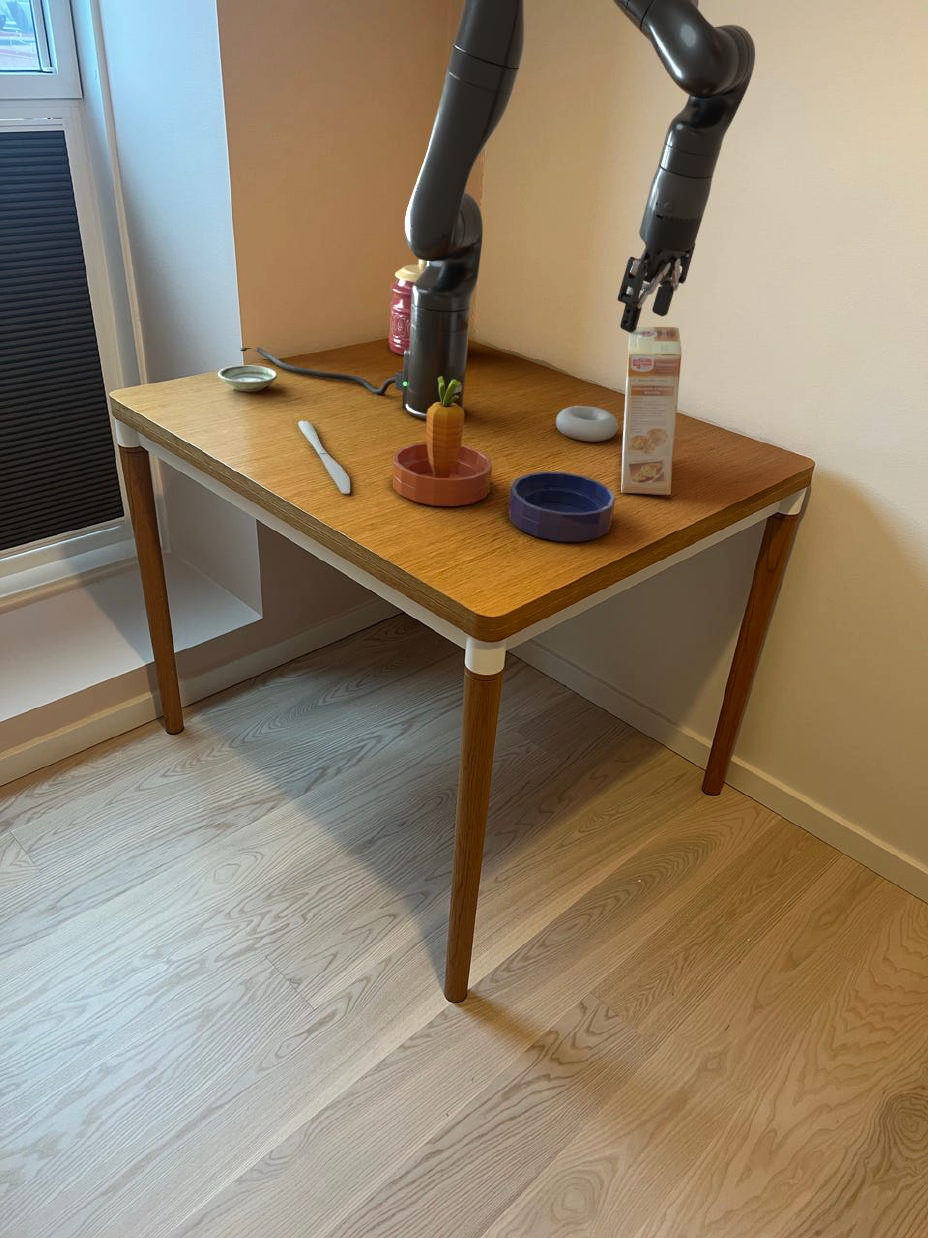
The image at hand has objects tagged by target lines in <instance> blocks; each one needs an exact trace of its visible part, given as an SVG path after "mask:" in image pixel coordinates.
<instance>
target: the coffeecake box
mask: <svg viewBox="0 0 928 1238" xmlns="http://www.w3.org/2000/svg"><path fill="white" fill-rule="evenodd" d="M681 364H682V345H681V336H680V330H679V327H675V326H644V327H643V326H637V328H636V330H635V331H634V332H632V333H629V336H628V349H627V362H626V377H625V392H624V393H625V398H624V412H623V413H624V415H623V429H622V430H623V433H622V453H621V454H622V455H621V460H622V461H621V486H620V492H621V494H644V495H645V494H646V495H663V496H665V495H666V496H667V495H668V496H669V495H671V494H672V493H671V492H672V476H673V475H672V474H673V462H674V452H675V451H674V450H675V438H676V427H677V412H678V403H679V402H678V401H679V389H680V388H679V387H680V377H681V366H682V365H681Z"/></svg>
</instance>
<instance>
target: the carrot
mask: <svg viewBox="0 0 928 1238" xmlns="http://www.w3.org/2000/svg"><path fill="white" fill-rule="evenodd" d="M438 382H439V394H440V399H441V402H437V403H435V404H433V405H432V406H431V407H430V408H429V409H428V411H427V420H426V431H425V432H426V441H425V442H427V450H428V457H429V463H430V466H431V469H432V472H433V475H434V477H435V478H449V476H450V475H451V473H452V471H453V469H454V467H455V465H456V461H457V458H458V455H459V451H460V447H461V445H462V442H463V436H464V435H463V434H464V433H463V432H464V426H465V416H466V415H465V410H464V408H463V409H462V408H461V407H460V406H458V405H457V404H455V403H453V402H454V401H455V400H457V399H458V398H459V396H457V395H454V396H453V397H452V395H453V393H454V391H455V390H456V389H457V388H458V387H459V386H460V385H461V383H460V382H457V381H456V380H452V381H451V383H450V384H449V386H448V388H447V390H446V393H445V384H444V379H443V377H442V376H441V377H439V378H438Z"/></svg>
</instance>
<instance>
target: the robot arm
mask: <svg viewBox="0 0 928 1238" xmlns="http://www.w3.org/2000/svg"><path fill="white" fill-rule="evenodd" d="M612 1H613V3H614V4H615V6H616V7H617V8H618V10H620V11H621V12H622V14H623V15H624V16H625V17H626V18H627V19H628V20H629V21H630V22H631V24H633V26H634V27H636V29H637V30H638V31H639V32H640V33H641V34H642V35H643V36H644V37H645V38H646V39H647V40H649V42H650V43H651V45H652V47H653V49H654V51H655V53H656V55H657V58H659V60H660V62H661V64H662V66H663V67H664V69H665V70H666V72H667V74H668V76H669V77H670V79H671V80H672V82H674V83H675V85H676V86H677V87H678V88H680V90H682V91H683V92H684V93H685V94H687V95H689V96H688V99H687V100H686V104H685V106H684V107H683V108H682V110H681V111H680V112H679V113H678V114H677V115H675V116H674V118H673V119H672V120H671V121H670V123H669V126H668V128H667V132H666V135H665V138H664V142H663V146H662V150H661V154H660V158H659V160H658V161H659V162H658V164H657V168H656V171H655V172H654V176H653V179H652V181H651V184H650V188H649V192H648V195H647V201H646V204H645V208H644V213H643V216H642V219H641V223H640V228H639V230H638V231H639V237H640V239H641V240H642V241H643V243H644V245H645V248H644V250H643V252H642V254H641V256H640V257H639V258H637V257H634V256H630V257H629V258H628V260H627V264H626V266H625V270H624V274H623V277H622V280H621V283H620V284H621V285H620V288H619V291H618V294H617V301H618V302H620V303H623V304H624V305H625V306H624V309H623V313H622V317H621V321H620V325H619V327H620V329H621V330H623V331H625V332H628V333H629V334H630V333H632V332H634V331H635V330H636V328H637V327H638V323H639V320H640V316H641V314H642V309H643V307H642V306H643V305H644V303H645V301H646V300H647V298H648V296H649V295H653V294H654V293H655V292H656V295H655V297H654V302H653V305H652V309H651V310H652V313H654V314H655V315H658V316H660V317H665V316H667V315H668V313H669V310H670V306H671V304H672V299H673V297H674V293H675V292H676V291H678V288H679V285H680V284H684V283H685V282H686V280H687V278H688V273H689V269H690V267H691V263H692V259H693V256H694V251H695V249H696V242H697V241H696V240H697V237H698V234H699V231H700V227H701V225H702V221H703V217H704V214H705V211H706V207H707V204H708V200H709V197H710V194H711V189H712V182H713V177H714V173H715V170H716V168H717V163H718V160H719V157H720V154H721V150H722V146H723V142H724V139H725V137H726V134H727V132H728V130H729V128H730V126H731V124H732V122H733V121H734V118H735V116H736V114H737V112H738V109H739V107H740V106H741V103H742V102H743V99H744V97H745V95H746V93H747V90H748V87H749V86H750V82H751V79H752V77H753V72H754V70H755V63H756V47H755V46H756V45H755V43H754V40H753V37H752V36H751V34H750V33H749V31H748V30H747V29H745V28H744V27H742V26H739V25H737V24H725V25H719V26H713V24H711V22H709V21H708V20H707V18H705V16H704V15H703V14H702V12H701V11H700V9H698V8H699V3H700V1H699V0H612ZM457 26H458V27H457V29H456V33H455V36H454V40H453V45H452V48H451V53H450V56H449V60H448V65H447V68H446V73H445V78H444V82H443V88H442V92H441V96H440V99H439V104H438V106H437V107H438V108H437V111H436V115H435V119H434V121H433V122H434V123H433V126H432V131H431V134H430V139H429V143H428V146H427V150H426V154H425V156H424V158H423V159H424V160H423V162H422V165H421V169H420V171H419V173H418V177H417V179H416V182H415V185H414V188H413V190H412V192H411V193H412V194H411V196H410V199H409V203H408V206H407V208H406V213H405V218H404V236H405V241H406V244H407V247H408V248H409V250H410V252H411V253H412V254H413V256H415V257H416V258H417V259H418V260H420V259H421V260H423V261H427V264H426V267H425V269H424V271H423V273H422V274H421V276H420V277H419V278H418V279H417V280H416V281H415V283H414V284H413V286H412V293H411V317H410V343H409V349H407V350H405V352H404V355H403V370H401V371H399V372H398V371H397V372H396V373H395V376H392V377H390V378H388V379H386V380H385V381H384V382H383V384H382V386H381V387H380V388H376V387H374V386H373V385H372V384H371V383H370V382H369V381H368V380H366V379H364V378H362V377H360V376H355V375H352V374H344V373H333V372H332V373H331V372H326V371H319V370H314V369H308V368H303V367H298V366H294V365H292V364H291V365H290V364H287V363H285V362H283V361H281V360H279V359H278V358H277V357H276V356H275V355H273V354H271V353H268V352H267V351H266V350H264V349H262V348H261V347H260V346H258V348H257V351H256V350H254V352H257V353H258V354H260V355H261V356H262V357H264V358H266V359H268V360H269V361H271V362H273V363H274V364H275V365H276V366H278V367H280V368H282V369H284V370H287V371H290V372H293V373H298V374H301V375H307V376H311V377H317V378H325V379H331V380H341V381H348V382H349V381H350V382H354V383H359V384H361V385H363V386H364V387H365V388H366V389H367V390H369V391H370V392H372V393H373V394H375V395H378V396H379V395H384V394H385V393H386V391H387V390H388V388H389V386H390V385H392V384H394V386H395V387H394V390H397V391H400V392H402V402H401V405H402V406H401V408H402V409H405V411H406V413H408V414H409V415H411V416H412V417H414V418H417V419H421V420H426V421H427V411H428V409H429V408H430V407H431V406H432V405H433V404H435V403H437V402H441V399H440V394H439V382H438V378H439V377H441V376H442V377H443V379H444V384H445V393H446V390H447V388H448V386H449V384H450V383H451V381H452V380H456V381H457V382H460V383H461V385H460V386H459V387H458V388H457V389H456V390H455V391H454V393H453V395H452V397H453V396H454V395H457V396H459V398H458V399H457V400H455V401H454V402H453V403H455V404H457V405H458V406H460V407H461V408H462V409H463V410H464V397H465V387H466V386H465V383H466V369H467V357H468V343H469V330H470V317H471V316H470V315H471V304H472V303H471V302H472V297H473V294H474V292H475V290H476V287H477V285H478V279H479V274H480V273H479V272H480V265H481V262H480V261H481V256H482V247H483V236H484V224H483V216H482V211H481V209H480V207H479V204H478V202H477V201H476V199H475V198H474V197H473V196H472V195H470V194H469V193H468V192H466V188H467V185H468V182H469V179H470V175H471V172H472V170H473V168H474V166H475V164H476V161H477V160H478V158H479V156H480V154H481V153H482V152H483V150H484V148H485V146H486V145H487V143H488V142H489V141H490V139H491V137H492V135H493V134H494V132H495V131H496V129H497V128H498V126H499V124H500V123H501V121H502V119H503V117H504V115H505V113H506V111H507V109H508V106H509V104H510V102H511V98H512V95H513V93H514V89H515V85H516V83H517V82H516V81H517V78H518V75H519V71H520V67H521V64H522V60H523V55H524V49H525V0H464V1H463V7H462V9H461V15H460V19H459V23H458V25H457ZM656 289H657V291H656ZM641 291H642V292H641ZM247 350H252V349H251V348H242V347H240V349H239V351H240V352H246V351H247Z"/></svg>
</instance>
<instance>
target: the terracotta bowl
mask: <svg viewBox="0 0 928 1238" xmlns="http://www.w3.org/2000/svg"><path fill="white" fill-rule="evenodd" d="M392 458H393V459H392V460H393V461H392V488H393V489H394V491H396V493H398V494H399V495H400V496H402V497H404V498H406V499H408V500H410V501H413V502H415V503H420V504H424V505H430V506H435V507H436V506H438V507H459V506H465V505H471V504H475V503H477V502H479V501H481V500H483V499H485V498H486V497H487V495H488V494H489V493H490V492H491V485H492V474H493V464H492V459H491V458H490V457H489V456H488V455H487V454H485V453H484V452H483V451H482V450H478V449H477V448H473V447H471V446H468V445H465V444H461V447H460V451H459V455H458V458H457V461H456V465H455V467H454V469H453V471H452V473H451V475H450V476H449V478H435V477H434V475H433V472H432V469H431V466H430V463H429V457H428V450H427V441H425V442H419V443H411V444H409V445H406V446H403V447H401V448H399V449H398V450H397V451H396V452H395V453H393V457H392Z"/></svg>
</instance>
